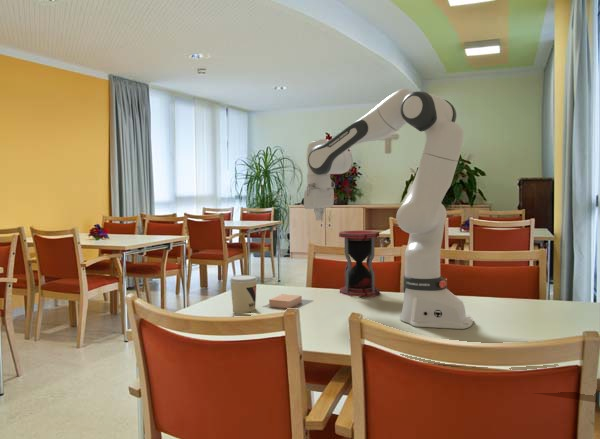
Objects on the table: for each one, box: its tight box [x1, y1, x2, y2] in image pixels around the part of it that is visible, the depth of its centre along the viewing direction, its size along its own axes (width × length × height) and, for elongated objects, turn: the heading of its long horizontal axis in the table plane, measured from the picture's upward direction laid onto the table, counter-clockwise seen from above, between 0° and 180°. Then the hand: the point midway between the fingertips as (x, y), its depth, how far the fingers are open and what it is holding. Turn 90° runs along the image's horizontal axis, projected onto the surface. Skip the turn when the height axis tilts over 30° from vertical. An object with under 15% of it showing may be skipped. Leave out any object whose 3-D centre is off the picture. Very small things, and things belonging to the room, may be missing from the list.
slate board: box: [262, 299, 314, 310], centre depth 187 cm, size 13×16×1 cm
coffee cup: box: [229, 274, 258, 315], centre depth 180 cm, size 9×9×12 cm
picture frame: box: [268, 293, 303, 308], centre depth 185 cm, size 8×3×10 cm
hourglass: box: [338, 230, 381, 298], centre depth 205 cm, size 16×16×25 cm
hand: (319, 220), depth 194 cm, fingers closed
